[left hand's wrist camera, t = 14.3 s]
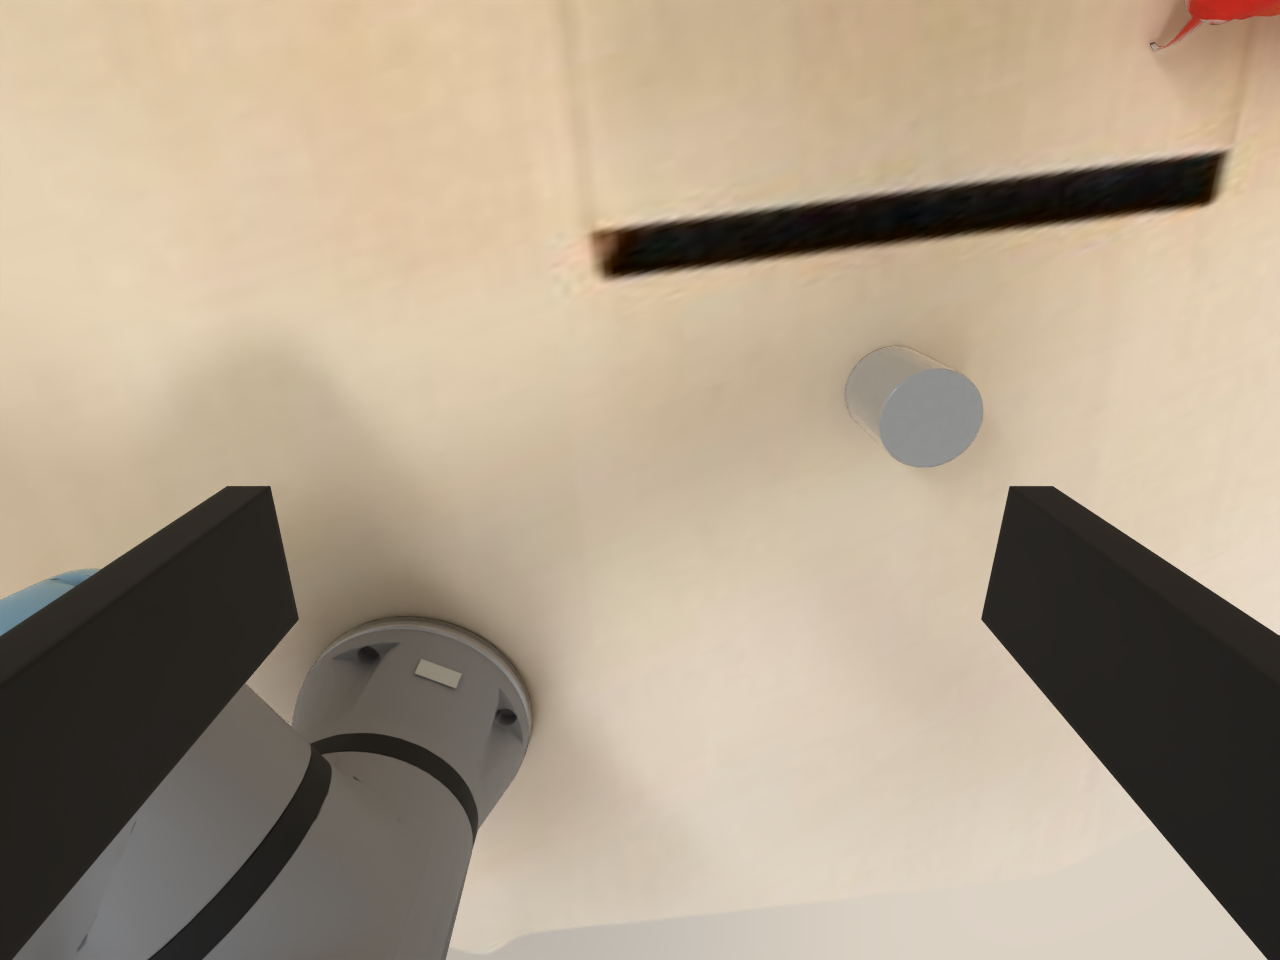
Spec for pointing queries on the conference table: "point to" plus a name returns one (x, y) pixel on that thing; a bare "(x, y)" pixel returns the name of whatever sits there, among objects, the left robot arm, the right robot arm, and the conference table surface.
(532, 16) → the conference table surface
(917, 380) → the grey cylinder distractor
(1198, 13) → the fish
